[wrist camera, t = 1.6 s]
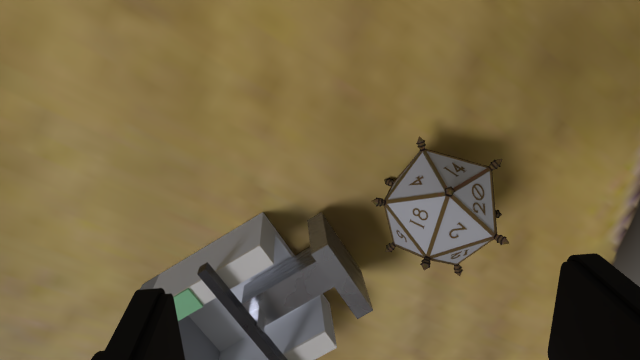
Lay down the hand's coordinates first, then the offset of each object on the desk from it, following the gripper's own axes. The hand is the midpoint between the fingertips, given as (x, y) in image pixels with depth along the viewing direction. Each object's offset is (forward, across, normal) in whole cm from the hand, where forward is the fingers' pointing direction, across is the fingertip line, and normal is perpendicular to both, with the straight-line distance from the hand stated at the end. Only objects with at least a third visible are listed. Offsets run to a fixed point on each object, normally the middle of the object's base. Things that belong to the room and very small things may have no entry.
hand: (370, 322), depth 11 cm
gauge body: (+22, +7, +14) cm, 27 cm away
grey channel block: (+21, +2, +11) cm, 24 cm away
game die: (+23, -8, +6) cm, 25 cm away
